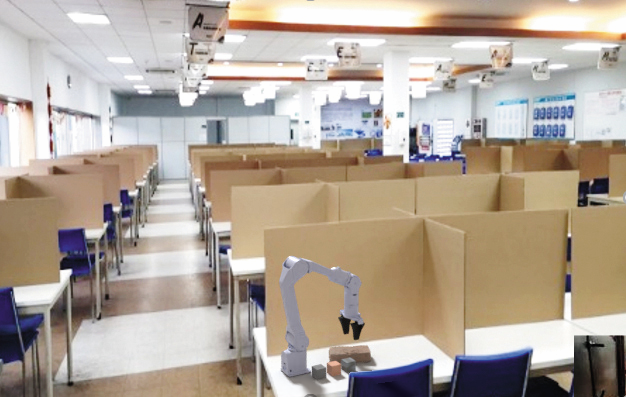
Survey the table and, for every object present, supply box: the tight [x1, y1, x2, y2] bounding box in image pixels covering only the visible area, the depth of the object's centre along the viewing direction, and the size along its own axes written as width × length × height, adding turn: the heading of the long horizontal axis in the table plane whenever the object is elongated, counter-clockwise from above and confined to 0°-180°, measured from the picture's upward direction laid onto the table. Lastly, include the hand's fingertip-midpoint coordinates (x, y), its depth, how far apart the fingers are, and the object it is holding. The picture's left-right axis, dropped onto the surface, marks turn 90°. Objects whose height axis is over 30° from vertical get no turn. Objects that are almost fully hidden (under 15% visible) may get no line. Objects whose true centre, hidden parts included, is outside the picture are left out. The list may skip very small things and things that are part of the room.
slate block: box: [340, 358, 357, 374], centre depth 215 cm, size 4×4×4 cm
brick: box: [328, 344, 372, 364], centre depth 226 cm, size 17×8×5 cm, turn 93°
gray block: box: [311, 363, 327, 381], centre depth 209 cm, size 4×4×4 cm
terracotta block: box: [326, 361, 342, 377], centre depth 212 cm, size 4×4×4 cm
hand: (351, 336), depth 224 cm, fingers open, 7 cm apart
